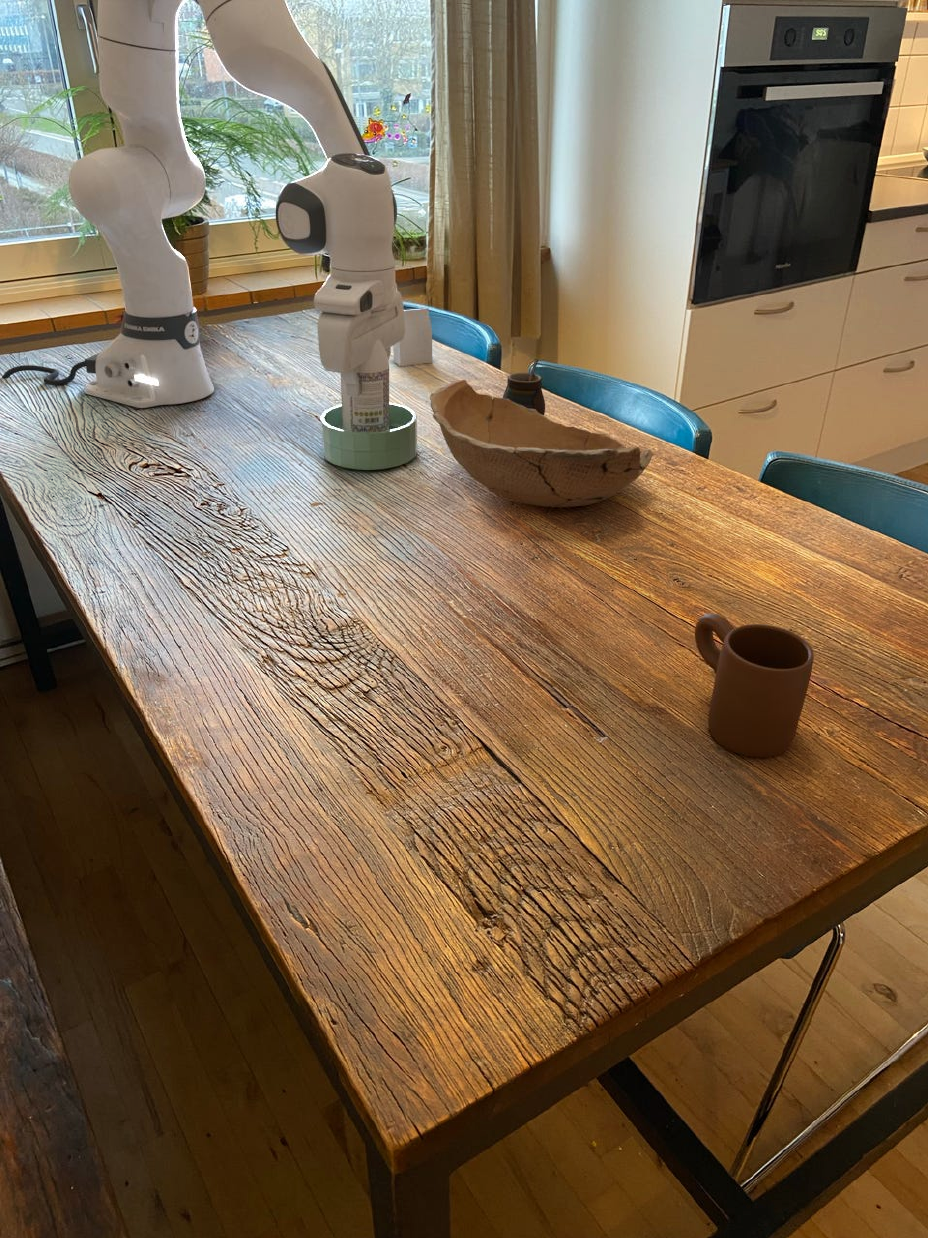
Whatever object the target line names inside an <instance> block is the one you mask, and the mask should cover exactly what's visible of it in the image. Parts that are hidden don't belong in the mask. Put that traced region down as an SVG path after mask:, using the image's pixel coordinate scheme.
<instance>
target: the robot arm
mask: <svg viewBox="0 0 928 1238" xmlns="http://www.w3.org/2000/svg"><path fill="white" fill-rule="evenodd" d="M187 1H188V0H97V18H96V19H97V49H98V51H97V52H98V75H99V77H98V78H99V79H98V80H99V93H100V96H101V98H102V100H103V101H104V103H105V105H106V106H107V107H108V108H110V109H111V110H112V111H113V112H114V113H115V115H116V118H117V120H118V122H119V124H120V128H121V132H122V137H123V146H115V147H104V148H100V149H97V150H95V151H93V152H91V153H88V154H86V155H84V156H82V157H80V158H79V159H77V160H76V161H75V162H74V163H73V164H72V166H71V167H70V170H69V174H68V179H67V183H68V191H69V195H70V198H71V201H72V203H73V205H74V207H75V208H76V210H77V212H78V213H79V215H81V216H82V218H84V219H85V220H86V221H87V222H89V223H90V224H91V225H93V227H95V228H96V230H97V231H98V232H99V233H100V235H101V236H102V238H103V239H104V241H105V243H106V245H107V247H108V249H109V250H110V253H111V255H112V258H113V259H114V263H115V266H116V269H117V273H118V278H119V283H120V287H121V292H122V298H123V303H124V309H125V310H124V311H122V312H121V313H120V314H118V315H115V316H113V317H112V318H113V319H116V320H114V321H113V323H114V324H119V323H121V324H120V333H119V334H118V335H117V336H116V337H115V338H114V339H113V340H112V341H111V342H110V343H109V344H108V345H107V346H105V347H104V348H103V349H102V350H101V351H100V352H98V353H95V354H93V355H91V356H90V357H87V358H85V359H84V360H83V361H80V362H78V363H76V364H74V365H73V366H72V367H71V369H70V373H69V375H68V376H67V377H64V378H60V379H56V378H57V377H59V375H60V372H59V370H57V369H55V368H52V367H47V366H41V365H33V364H25V365H16V366H14V367H11V368H9V369H8V370H7V371H5V372H4V373H3V375H2V376H1V379H8V378H10V377H11V376H12V375H14V374H16V373H19V372H24V371H27V372H28V371H30V372H31V371H32V372H33V371H34V372H42V373H46V374H48V375H46V376H44V378H43V379H42V382H43V384H46V385H48V386H63V385H67V384H70V383H71V382H73V381H74V380H75V378H76V374H77V372H78V371H79V370H81V369H82V368H85V370H86V373H87V374H95V379H93V380H91V381H90V382H88V383H87V384H86V385H85V386H84V394H86V395H89V396H92V397H96V398H100V399H104V400H107V401H112V402H115V403H119V404H123V405H126V406H129V407H130V406H131V407H133V408H136V409H137V408H138V409H145V408H146V409H147V408H152V407H157V406H158V407H159V406H164V405H165V406H167V405H169V406H170V405H178V404H185V403H190V402H196V401H199V400H202V399H204V398H206V397H208V396H211V395H212V394H213V393H214V392H215V387H214V384H213V383H212V380H211V377H210V374H209V372H208V369H207V366H206V363H205V359H204V356H203V351H202V348H201V347H202V346H201V343H200V323H199V317H198V312H197V308H196V307H195V306H194V300H193V293H192V286H191V285H192V284H191V279H190V271H189V265H188V262H187V260H186V258H185V257H184V256H183V255H182V253H181V252H179V251H177V250H176V249H174V248H173V246H172V244H171V243H170V240H169V239H168V236H167V234H166V232H165V230H164V229H165V228H164V225H163V220H165V219H169V218H173V217H179V216H181V215H184V213H186V212H188V211H189V210H191V209H192V208H195V207H196V206H197V205H198V204H199V203H200V202H201V201H202V199H203V198H204V195H205V193H206V186H207V184H206V183H207V181H206V175H205V171H204V167H203V165H202V164H201V162H200V160H199V158H198V157H197V156H196V155H195V154H194V153H193V151H192V150H191V148H190V146H189V143H188V141H187V138H186V135H185V131H184V127H183V121H182V119H181V118H182V117H181V111H180V103H179V35H178V33H179V32H178V18H179V11H180V10H181V8H182V6H183V5H184V4H185V3H186V2H187ZM193 1H194V2H195V3H196V5H198V6H199V8H200V11H201V15H202V17H203V20H204V21H203V22H204V24H205V27H206V30H207V33H208V35H209V38H210V41H211V44H212V47H213V49H214V52H215V54H216V56H217V58H218V60H219V62H220V63H221V66H222V67H223V68H224V70H225V72H226V73H227V74H228V76H229V77H230V78H231V79H232V80H233V81H235V82H236V83H237V84H238V85H240V86H241V87H243V88H244V89H246V90H247V91H250V92H252V93H254V94H257V95H260V96H263V97H265V98H268V99H270V100H273V101H275V102H277V103H279V104H282V105H284V106H286V107H287V108H289V109H291V110H293V111H294V112H295V113H297V114H298V115H300V116H301V117H302V118H303V119H304V121H306V122H307V124H308V125H309V126H310V128H311V129H312V131H313V133H314V135H315V137H316V140H317V141H318V144H319V146H320V148H321V150H322V152H323V154H324V156H325V158H326V160H327V161H326V163H325V165H324V166H323V167H322V168H321V169H319V170H318V171H316V172H314V173H312V174H310V175H308V176H305V177H302V178H299V179H296V180H293V181H290V182H288V183H286V184H284V186H283V187H282V188H281V190H280V192H279V193H278V196H277V199H276V203H275V222H276V223H275V224H276V227H277V231H278V233H279V236H280V238H281V239H282V241H283V242H284V243H285V245H286V247H288V248H289V249H290V250H292V251H293V252H294V253H296V254H299V255H306V256H317V255H323V254H327V255H328V256H329V275H328V276H327V278H326V279H325V281H324V283H323V285H322V286H321V287H320V288H319V289H318V290H317V292H316V293H315V295H314V297H313V305H314V306H313V307H314V310H315V311H316V312H320V313H319V316H318V319H317V341H318V353H319V360H320V363H321V365H322V367H323V369H324V371H326V372H332V373H339V374H340V376H341V375H342V377H343V379H344V381H345V383H346V393H347V395H348V396H353V397H357V396H358V395H360V394H361V393H362V382H359V380H358V376H357V373H358V372H359V368H358V366H359V365H361V364H362V363H364V362H366V361H368V360H369V359H370V357H371V354H372V350H373V347H374V344H375V342H376V340H380V341H381V343H382V344H383V346H384V348H385V350H386V353H387V356H388V361H390V357H391V351H392V350H391V348H392V347H393V345H395V344H396V343H398V342H400V341H402V340H403V337H404V333H405V319H404V310H405V309H404V301H403V295H402V294H401V292H400V291H399V290H398V284H397V283H396V261H395V256H394V254H393V238H394V234H395V227H396V224H397V221H398V220H397V219H398V205H397V200H396V197H395V193H394V192H393V189H392V183H391V178H390V174H389V171H388V168H387V167H386V165H385V164H384V163H383V162H381V160H379V159H377V158H376V157H373V156H372V155H371V153H370V151H369V148H368V147H367V145H366V142H365V141H364V138H363V136H362V134H361V131H360V130H359V127H358V125H357V123H356V120H355V119H354V117H353V114H352V112H351V110H350V107H349V106H348V103H347V101H346V99H345V97H344V95H343V93H342V90H341V89H340V86H339V84H338V83H337V81H336V79H335V77H334V75H333V73H332V71H331V70H330V68H329V67H328V65H327V64H326V63H325V61H323V59H322V58H321V57H320V56H319V55H317V53H316V52H315V51H314V50H313V48H312V47H311V45H310V44H309V43H308V41H307V40H306V39H305V36H304V35H303V34H302V32H301V30H300V28H299V26H298V25H297V23H296V21H295V19H294V17H293V15H292V13H291V10H290V8H289V5H288V3H287V0H193Z"/></svg>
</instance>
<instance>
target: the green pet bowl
mask: <svg viewBox="0 0 928 1238" xmlns="http://www.w3.org/2000/svg"><path fill="white" fill-rule="evenodd" d="M319 418H320V419H319V420H320V433H321V446H322V449H321V450H322V454H323V457H324V459H325V460H326V461H328V463H330V464H332V465H335V466H337V467H341V468H346V469H352V470H359V471H361V470H363V471H364V470H365V471H374V470H386V469H391V468H394V467H400V466H402V465H404V464H407V463H409V462H411V461H412V460H413V459H415V457H416V456H417V452H418V416H417V414H416V412H415V411H414V410H413V409H411V408H409V407H407V406H405V405H401V404H397V403H392V402H389V430H388V431H382V432H352V431H345V430H342V404H339V405H336V406H333V407H330V408H329V409H327V410H325V411H324V412H322V413H321V416H320V417H319Z"/></svg>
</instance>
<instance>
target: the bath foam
mask: <svg viewBox="0 0 928 1238" xmlns="http://www.w3.org/2000/svg"><path fill="white" fill-rule="evenodd" d="M389 361H390V360H389ZM389 361H388V356H387V353H386V350H385V348H384V346H383V344H382V343H381V341H380V340H376V342H375V344H374V347H373V350H372V354H371V357H370V359H369V360H368V361H366V362H364V363H362V364H361V365H359V366H358V368H359V372H358V373H357V376H358V380H359V382H362V393H361V394H360V395H358V396H357V397H353V396H348V395H347V393H346V383H345V381H344V379H343V377H342V375H341V374H340V396H341V405H342V430H345V431H352V432H382V431H388V430H389V403H390V362H389Z"/></svg>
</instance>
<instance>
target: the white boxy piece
mask: <svg viewBox="0 0 928 1238" xmlns="http://www.w3.org/2000/svg"><path fill="white" fill-rule="evenodd" d="M404 319H405V333H404V337H403V340H402V341H400V342H398V343H396V344H395V345H393V346H392V355H393V357H392V359H393V362H394V363H395V364H397V365H398V366H399V367H405V366H414V365H423V364H432V363H433V329H432V323H431V317H430V309H429V308H428V307H423V308H414V309H404Z"/></svg>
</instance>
